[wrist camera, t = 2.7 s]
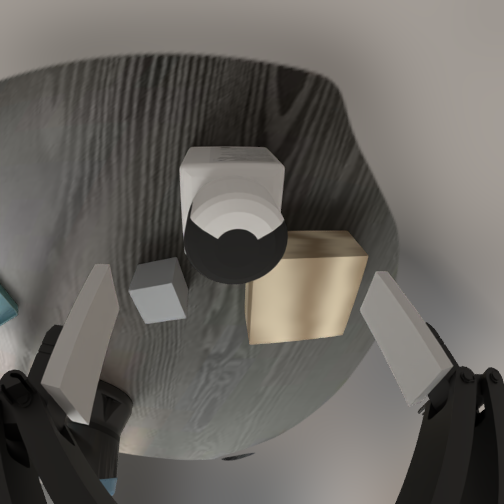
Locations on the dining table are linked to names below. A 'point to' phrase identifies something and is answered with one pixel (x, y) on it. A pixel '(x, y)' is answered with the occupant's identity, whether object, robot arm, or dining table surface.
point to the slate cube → (160, 291)
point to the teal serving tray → (7, 307)
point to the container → (232, 212)
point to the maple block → (306, 289)
